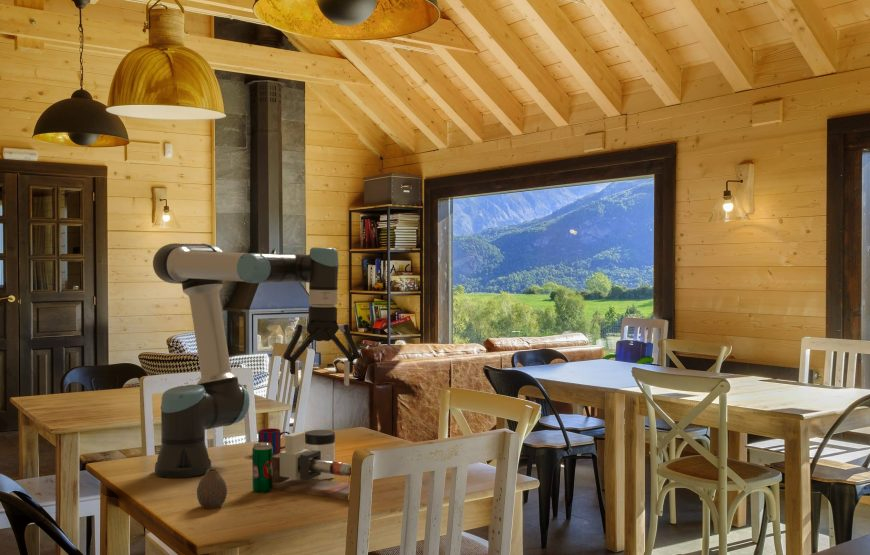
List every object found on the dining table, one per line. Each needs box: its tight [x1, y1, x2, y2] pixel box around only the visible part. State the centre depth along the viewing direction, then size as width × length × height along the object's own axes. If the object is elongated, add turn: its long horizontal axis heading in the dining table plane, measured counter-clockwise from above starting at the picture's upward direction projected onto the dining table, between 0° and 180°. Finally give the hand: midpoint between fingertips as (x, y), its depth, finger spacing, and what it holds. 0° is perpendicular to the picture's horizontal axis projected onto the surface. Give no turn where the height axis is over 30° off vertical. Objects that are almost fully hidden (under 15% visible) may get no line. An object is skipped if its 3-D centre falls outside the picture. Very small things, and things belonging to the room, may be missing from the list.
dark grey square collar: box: [300, 450, 321, 480], centre depth 219 cm, size 2×6×6 cm, turn 153°
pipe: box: [298, 457, 351, 477], centre depth 218 cm, size 24×3×3 cm, turn 63°
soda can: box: [251, 442, 274, 494], centre depth 216 cm, size 5×5×12 cm
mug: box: [257, 428, 291, 455], centre depth 261 cm, size 7×10×7 cm
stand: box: [272, 453, 351, 501], centre depth 218 cm, size 26×10×8 cm, turn 63°
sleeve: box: [279, 431, 310, 478], centre depth 221 cm, size 5×6×11 cm
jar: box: [304, 429, 336, 480], centre depth 231 cm, size 9×8×12 cm
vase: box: [196, 468, 228, 510], centre depth 202 cm, size 7×7×9 cm
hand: (321, 385), depth 225 cm, fingers open, 13 cm apart
